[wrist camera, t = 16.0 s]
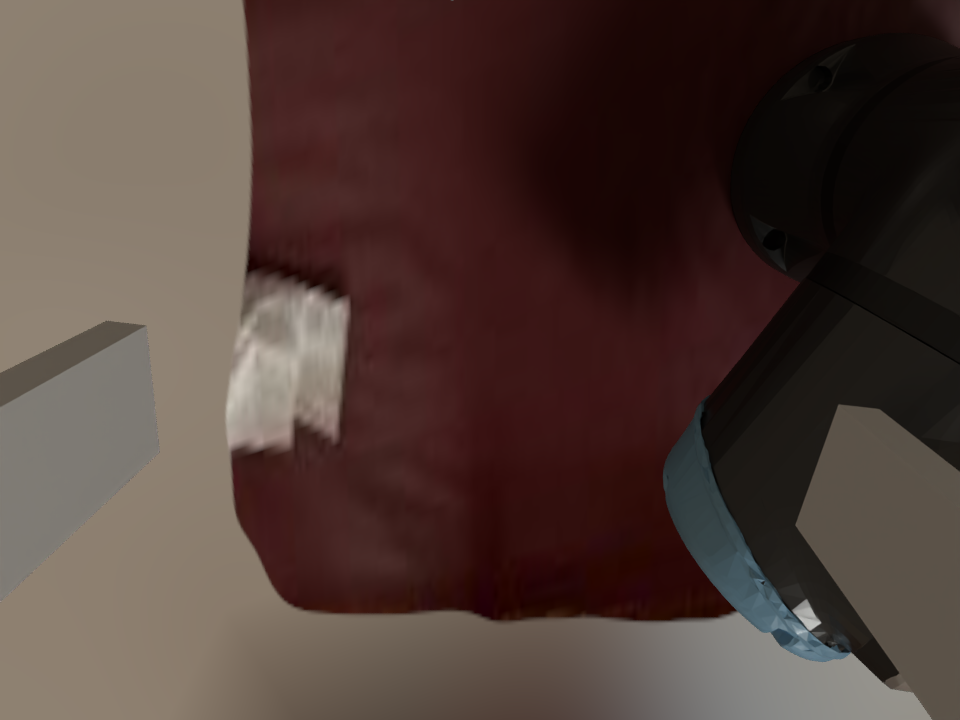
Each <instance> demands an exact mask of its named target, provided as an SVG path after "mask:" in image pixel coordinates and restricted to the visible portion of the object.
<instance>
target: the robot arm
mask: <svg viewBox="0 0 960 720" xmlns="http://www.w3.org/2000/svg"><path fill="white" fill-rule="evenodd" d="M731 199H732V206H733V211H734V215H735V218H736V221H737V224H738V226H739V229H740V231H741V233H742V235H743V237H744V239H745V240H746V242H747V243H748V245H749V246H750V247H751V249H752V250H753V251H754V252H755V253H756V254H757V255H758V256H759V257H760V258H761V259H762V260H763V261H764V262H765V263H767V264H768V265H769V266H771V267H772V268H774V269H776V270H777V271H779V272H781V273H783V274H784V275H786V276H788V277H790V278H792V279H794V280H796V281H798V282H801V283H800V284H799V285H798V286H797V288H796V289H795V290H794V292H793V293H792V294H791V295H790V297H789V298H788V299H787V300H786V302H785V303H784V304H783V306H782V307H781V308H780V309H779V311H778V312H777V313H776V314H775V316H774V317H773V318H772V320H771V321H770V322H769V323H768V325H767V326H766V327H765V328H764V330H763V331H762V332H761V333H760V335H759V336H758V337H757V339H756V340H755V341H754V342H753V344H752V345H751V346H750V347H749V349H748V350H747V351H746V353H745V354H744V355H743V356H742V358H741V359H740V360H739V361H738V362H737V364H736V365H735V366H734V367H733V369H732V370H731V371H730V372H729V373H728V375H727V376H726V377H725V378H724V380H723V381H722V382H721V383H720V384H719V386H718V387H717V388H716V389H715V390H714V392H713V393H712V394H711V395H709V396H707V397H706V398H705V399H704V400H703V401H702V402H701V403H700V404H699V405H698V407H697V409H696V412H695V415H694V418H693V420H692V421H691V423H690V424H689V426H688V427H687V429H686V430H685V432H684V433H683V435H682V436H681V437H680V439H679V440H678V441H677V443H676V444H675V445H674V447H673V448H672V450H671V451H670V453H669V455H668V457H667V460H666V462H665V466H664V470H663V483H664V490H665V493H666V503H667V506H668V509H669V512H670V515H671V517H672V520H673V522H674V524H675V526H676V528H677V530H678V532H679V534H680V536H681V538H682V540H683V542H684V543H685V545H686V547H687V548H688V550H689V551H690V553H691V554H692V556H693V557H694V559H695V560H696V562H697V563H698V565H699V566H700V567H701V569H702V570H703V571H704V573H705V574H706V575H707V577H708V578H709V579H710V581H711V582H712V583H713V584H714V585H715V587H716V588H717V589H718V590H719V591H720V592H721V594H722V595H723V596H724V597H725V598H726V599H727V600H728V601H729V603H730V604H731V605H732V606H733V607H734V608H735V609H736V610H737V611H738V612H739V613H740V614H742V616H744V617H745V618H746V619H747V620H748V621H749V622H751V624H752V625H754V626H755V627H756V628H757V629H759V630H760V631H761V632H764V633H767V632H771V634H772V635H773V636H774V638H775V639H776V641H777V642H778V643H779V645H780V646H781V647H783V648H785V649H786V650H788V651H790V652H791V653H793V654H795V655H797V656H799V657H802V658H805V659H808V660H812V661H819V662H826V661H830V660H832V659H843V658H845V657H846V656H848V655H849V654H850V653H853V654H854V655H855V656H856V657H857V658H858V659H859V660H860V661H861V662H862V663H863V664H864V665H865V666H866V667H867V668H868V669H869V670H870V671H871V672H872V673H873V674H875V676H877V677H878V678H879V679H880V680H881V681H882V682H883V683H884V684H885V685H886V686H888V687H889V688H890V689H895V690H900V691H906V692H913V693H914V694H915V696H916V697H917V698H918V700H919V701H920V703H921V704H922V705H923V707H924V708H925V710H926V711H927V713H928V714H929V715H930V717H931V718H932V720H960V48H958V47H956V46H953V45H951V44H949V43H947V42H944V41H942V40H939V39H936V38H933V37H929V36H925V35H919V34H909V33H887V34H878V35H873V36H868V37H863V38H859V39H855V40H851V41H847V42H843V43H840V44H837V45H834V46H832V47H829V48H827V49H824V50H822V51H820V52H818V53H816V54H814V55H813V56H811V57H809V58H807V59H806V60H804V61H803V62H801V63H800V64H798V65H797V66H796V67H794V68H793V69H792V70H790V71H789V72H788V73H787V74H786V75H784V76H783V77H782V78H781V79H780V80H779V81H778V82H777V83H776V84H775V85H774V86H773V87H772V88H771V89H770V90H769V92H768V93H767V94H766V95H765V96H764V98H763V99H762V100H761V101H760V103H759V104H758V106H757V107H756V109H755V110H754V112H753V113H752V115H751V117H750V118H749V120H748V122H747V124H746V126H745V128H744V130H743V132H742V135H741V137H740V140H739V143H738V145H737V149H736V152H735V156H734V160H733V165H732V173H731ZM156 422H157V421H156V413H155V402H154V393H153V383H152V374H151V365H150V355H149V345H148V337H147V327H146V325H137V324H129V323H120V322H111V321H105V322H103V323H101V324H99V325H97V326H95V327H93V328H91V329H89V330H87V331H85V332H83V333H81V334H79V335H77V336H75V337H73V338H71V339H69V340H67V341H65V342H63V343H61V344H58V345H56V346H54V347H52V348H50V349H48V350H46V351H45V352H42V353H40V354H38V355H36V356H34V357H32V358H30V359H28V360H26V361H24V362H22V363H20V364H18V365H16V366H14V367H12V368H10V369H8V370H6V371H4V372H2V373H0V602H1V601H2V600H3V599H4V598H5V597H6V596H7V595H9V594H10V593H11V592H12V591H13V590H14V589H15V588H16V587H17V586H18V585H19V584H20V583H21V582H22V581H23V580H25V579H26V578H27V577H28V576H29V575H30V574H31V573H32V572H33V571H34V570H35V569H36V568H37V567H38V566H39V565H40V564H41V563H42V562H44V561H45V560H46V559H47V558H48V557H49V556H50V555H51V554H52V553H53V552H54V551H55V550H56V549H57V548H58V547H60V546H61V545H62V544H63V543H64V542H65V541H66V540H67V539H68V538H69V537H70V536H71V535H72V534H73V533H74V532H75V531H77V530H78V529H79V528H80V527H81V526H82V525H83V524H84V523H85V522H86V521H87V520H88V519H89V518H90V517H91V516H92V515H94V513H95V512H97V511H98V510H99V509H100V508H101V507H102V506H103V505H104V504H105V503H106V502H107V501H108V500H109V499H110V498H111V497H113V496H114V495H115V494H116V493H117V492H118V491H119V490H120V489H121V488H122V487H123V486H124V485H125V484H126V483H127V482H128V481H130V479H132V478H133V477H134V476H135V475H136V474H137V473H138V472H139V471H140V470H141V469H142V468H143V467H144V466H145V465H147V464H148V463H149V461H151V460H152V459H153V458H154V457H155V456H156V455H157V454H158V453H159V452H160V451H159V440H158V432H157V423H156Z"/></svg>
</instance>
